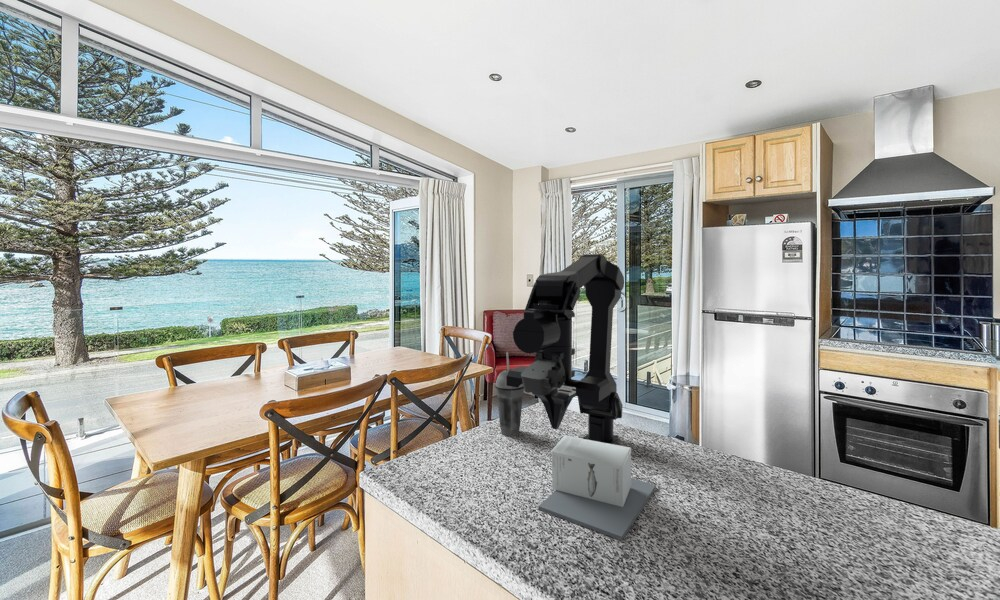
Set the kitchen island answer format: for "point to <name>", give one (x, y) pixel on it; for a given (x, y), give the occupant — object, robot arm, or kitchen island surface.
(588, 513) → the mat
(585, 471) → the supplement box
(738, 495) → the kitchen island surface
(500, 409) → the beverage cup
